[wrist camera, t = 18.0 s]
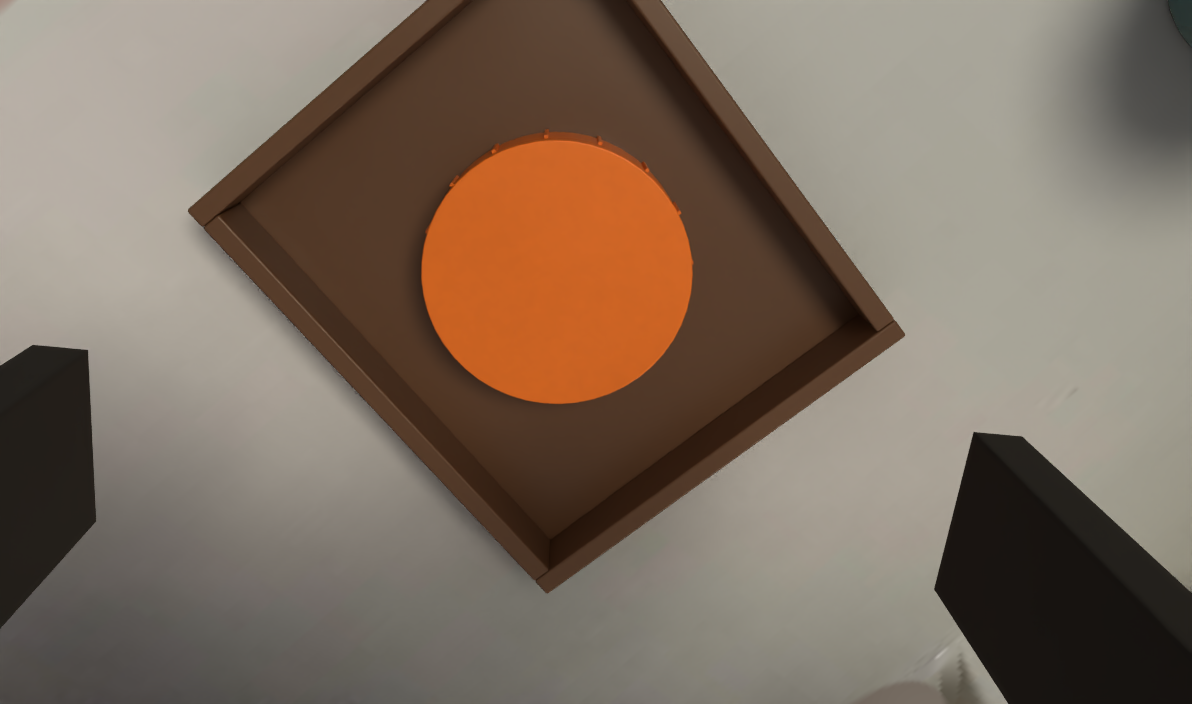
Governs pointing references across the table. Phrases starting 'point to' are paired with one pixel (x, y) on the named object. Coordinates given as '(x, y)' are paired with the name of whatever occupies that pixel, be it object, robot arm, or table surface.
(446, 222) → the lid
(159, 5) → the table surface
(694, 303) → the tray
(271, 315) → the table surface
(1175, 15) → the jar
